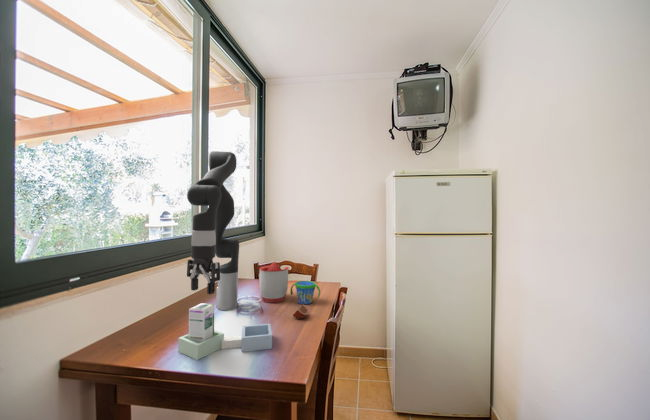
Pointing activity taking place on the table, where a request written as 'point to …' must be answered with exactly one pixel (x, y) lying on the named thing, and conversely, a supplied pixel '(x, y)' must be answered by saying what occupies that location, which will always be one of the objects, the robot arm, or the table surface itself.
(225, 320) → the table surface
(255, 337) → the holder caddy
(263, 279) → the citrus juicer
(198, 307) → the syrup box
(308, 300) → the snack cup
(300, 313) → the fruit slice
